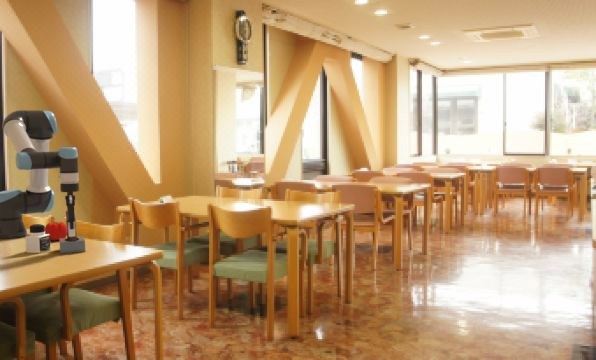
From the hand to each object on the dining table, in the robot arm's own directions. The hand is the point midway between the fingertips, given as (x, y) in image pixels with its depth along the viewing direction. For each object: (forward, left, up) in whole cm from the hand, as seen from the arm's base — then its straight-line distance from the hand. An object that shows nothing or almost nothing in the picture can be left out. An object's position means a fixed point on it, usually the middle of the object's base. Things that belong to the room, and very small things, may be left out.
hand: (71, 235), depth 242 cm
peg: (0, 0, -3) cm, 3 cm away
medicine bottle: (-5, -14, -7) cm, 16 cm away
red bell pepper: (-30, -6, -7) cm, 31 cm away
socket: (0, 0, -7) cm, 7 cm away
